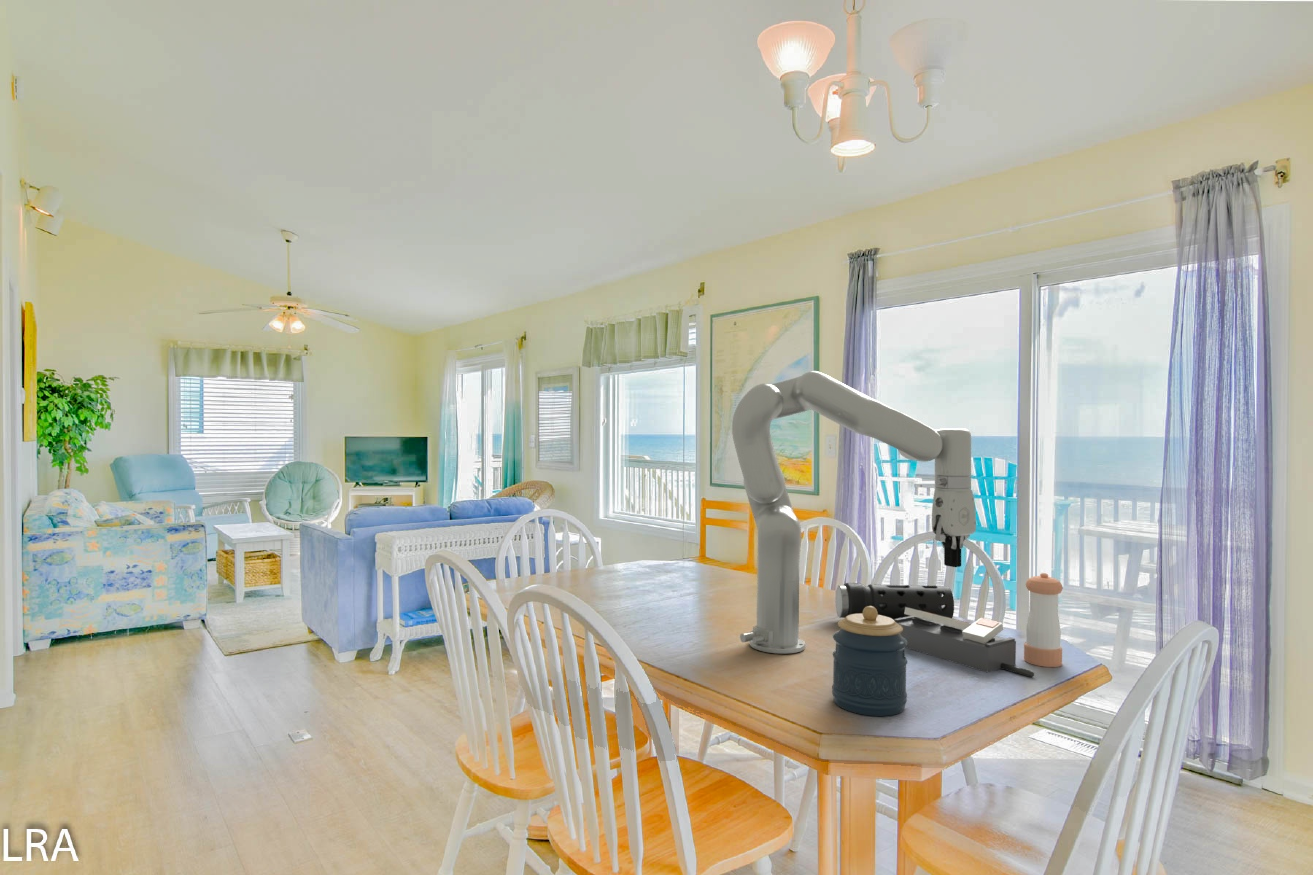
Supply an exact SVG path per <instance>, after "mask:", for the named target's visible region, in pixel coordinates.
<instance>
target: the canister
mask: <svg viewBox="0 0 1313 875" xmlns="http://www.w3.org/2000/svg"><path fill="white" fill-rule="evenodd" d="M837 626H838V628H839V630H836V631H835V632H834V633H833V635H832V638H833V640H834V641H835V649H834V651H833V652H832V657H833V668H832V669H833V671H832V672H833V676H832V677H833V678H832V679H833V680H832V681H833V683H832V686H831V689H832V690H831V693H832V696H833V698H832V700H833V703H835V704H836V705H837V707H839V708H841V709H844V710H846V711H848V712H851V713H855V714H859V715H864V716H873V717H874V716H875V717H887V716H889V717H890V716H895V715H898V714H901V713H902V712H904V711H905V709H906V704H907V701H908V700H907V699H908V694H907V664H908V659H907V657H906V656H905V648H906V646H907V644H908V642H907V640H906V639H905V638H904V637H903V636H901V634H900V633H901V632H902V631H903V628H902V626H901V625H899V624H898V623H896V622H895V621H894V620H893V619H892V618H889V617H886V616H882V615H878V612H877V610H876V608H875V607H873V606H867V607H865V608H864V610H863V613H861V614H851V615H848V616H846V618H842V619H840V620H838V622H837Z"/></svg>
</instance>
